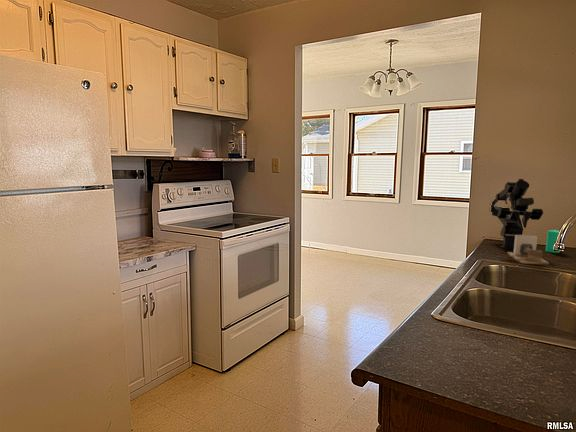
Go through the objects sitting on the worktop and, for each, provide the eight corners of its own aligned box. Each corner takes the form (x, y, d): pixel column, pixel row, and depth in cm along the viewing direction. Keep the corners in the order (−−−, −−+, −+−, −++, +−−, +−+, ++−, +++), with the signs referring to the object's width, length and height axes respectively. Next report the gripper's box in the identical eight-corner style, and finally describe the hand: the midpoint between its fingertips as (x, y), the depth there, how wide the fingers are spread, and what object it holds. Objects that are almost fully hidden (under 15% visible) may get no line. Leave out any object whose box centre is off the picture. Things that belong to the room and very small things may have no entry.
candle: (555, 250, 202) (558, 227, 200) (562, 252, 196) (565, 229, 194) (543, 249, 202) (545, 226, 201) (549, 252, 196) (552, 228, 195)
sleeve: (513, 253, 187) (515, 234, 186) (533, 254, 185) (535, 235, 184) (515, 254, 184) (517, 235, 183) (536, 255, 182) (538, 236, 181)
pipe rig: (507, 253, 192) (508, 242, 191) (532, 255, 190) (533, 243, 189) (521, 263, 174) (522, 250, 173) (548, 264, 172) (550, 251, 171)
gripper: (501, 191, 192) (507, 216, 183) (543, 192, 188) (551, 218, 179) (495, 205, 201) (500, 230, 192) (535, 206, 197) (542, 232, 188)
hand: (523, 227), depth 187 cm, fingers closed
